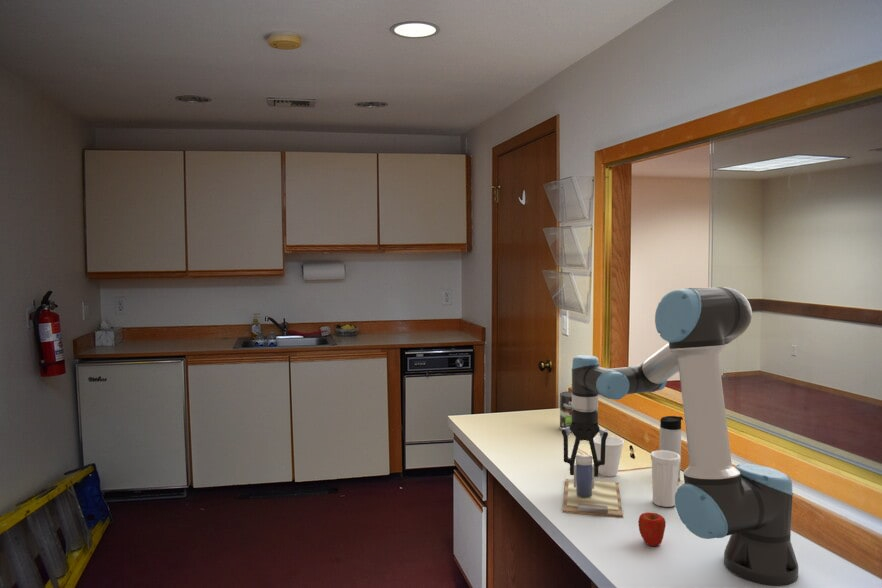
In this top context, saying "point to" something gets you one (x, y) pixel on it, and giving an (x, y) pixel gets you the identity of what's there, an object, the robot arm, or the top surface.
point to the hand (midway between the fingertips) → (583, 486)
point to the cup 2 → (664, 477)
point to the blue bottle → (584, 475)
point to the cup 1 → (609, 455)
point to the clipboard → (594, 500)
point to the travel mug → (671, 435)
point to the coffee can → (565, 409)
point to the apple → (652, 528)
